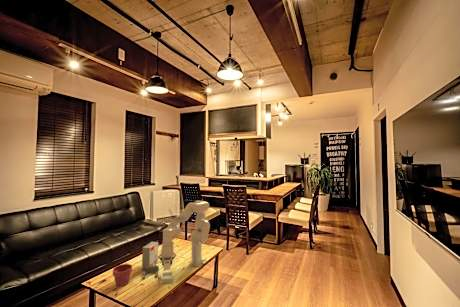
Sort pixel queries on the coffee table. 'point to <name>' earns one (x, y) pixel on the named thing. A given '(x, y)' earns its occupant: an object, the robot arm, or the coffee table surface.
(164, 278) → the tray
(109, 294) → the coffee table surface
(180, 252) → the coffee table surface
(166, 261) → the capped cream block
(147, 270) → the bay
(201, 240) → the robot arm
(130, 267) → the plant pot
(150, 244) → the hard drive box
